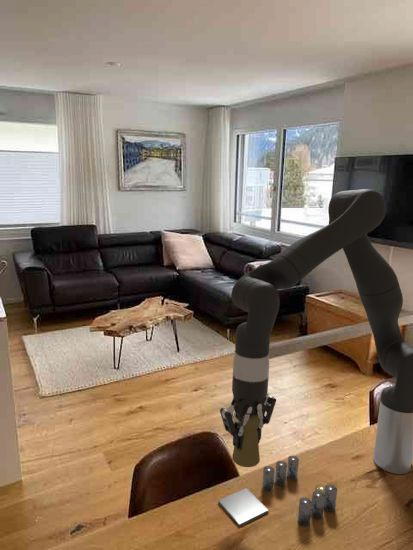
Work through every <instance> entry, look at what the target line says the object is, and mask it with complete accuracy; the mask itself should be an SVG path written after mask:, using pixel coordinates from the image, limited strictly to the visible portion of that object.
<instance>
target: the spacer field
mask: <svg viewBox="0 0 413 550" xmlns="http://www.w3.org/2000/svg"><path fill="white" fill-rule="evenodd" d="M299 461H300V459H299V458H298V456H295V455H290V456H288V458H287V462H285V461H284V460H277V461H276V463H275V468H274V467H273V466H270V465H267V466H264V467H263V468H262V469H263V472H262V485H261V486H262V490H263V491H265V492H269V493H270V492H272V491H274V484H276V485H277V486H280V487H283V486H285V485H286V481H287V479H289V480H291V481H296V480H297V479H298V475H299V464H300V463H299ZM286 478H287V479H286ZM325 485H326V486H325V495H324V493H322V492H321V491H315V490H313V492H312V497H311V498H309V497H305V496H304V497H300V498H299V504H298V513H297V522H298V524H299V525H300V526H302V527H308V526H310V524H311V517H312V518H314V519H316V520H321V519H323V517H324V511H326V512H329V513H333V512H335V510H336V504H337V495H338V488H337V487H336V486H335V485H333V484H331V483H330V484H325Z"/></svg>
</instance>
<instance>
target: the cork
mask: <svg viewBox="0 0 413 550" xmlns="http://www.w3.org/2000/svg"><path fill="white" fill-rule="evenodd" d="M237 418H238V419H239V420H240V421H242V418H240V417H239V416H237ZM259 425H260V418H259V417H258V416H257V414H256V415H252V416H249V419H248V422H247V424H246V426H243V429H244V431H243V444H242V450H241V451H239V450H237V449H236V448H235V447H234V446H233V450H232V451H233V452H232V461H233V462H234V464H236V465H238V466H239V467H242V468H253V467H256V466H257V465H259V463H260V462H261V461H260V460H261V458H260V446H259V444H260V443H259V444H258V432H257V428H258V427H259ZM237 426H238V428H239V424H238V423H237Z"/></svg>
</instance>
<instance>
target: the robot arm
mask: <svg viewBox="0 0 413 550" xmlns="http://www.w3.org/2000/svg"><path fill="white" fill-rule="evenodd" d="M327 209H328V218H329V221H330V223H329V224H327V225H326V226H324V227H322V228H320V229H318V230H316V231H314V232H311V233H309V234H308V235H306V236H304V237H301V238H300V239H298V240H297V241H295V242H293V243H291V244H290V245H289V246H288V247H286V248H285V249H284V250H283V251H282V252H280V253H279V254H278V255H276V256H275V257H274V258H273V259H271V261H269V262H267V263H265V264H262V265H260V266H258V267H256V268H254V269H252V270H250V271H249V272H246V273H245V274H244V275H241V277H240V278H239V279H238V280H237V281H236V282H235V284H234V285H233V287H232V289H231V293H230V296H231V301H232V303H233V305H235V307H237V308H238V309H241V311H244V312H246V313H248V315H247V319H246V320H247V321H244V322H242V323H240V324H239V325H237V328H236V330H235V345H234V355H233V360H232V361H233V362H232V363H233V364H232V382H231V384H232V385H231V392H232V401H231V402H230V405H229V406H228V407H227V408H225V407H221V408H220V409H219V413H220V415H221V419H222V423H223V426H224V429H225V431H226V432H228V434H230V435H231V437H232V446H233V448H234V447H235V448H236V449H237V450H239V451H241V450H242V444H243V431H244V429H243V426H246V424H247V422H248V419H249V416H252V415H256V414H257V416H258V417H259V418H260V425H259V427H258V428H257V432H258V444H260V441H261V439H262V429H263V428H264V425H265V424H266V425H268V424H270V421H271V418H272V415H273V412H274V409H275V406H276V403H277V398H276V397H274V396H272V395H271V394H269V393H268V389H269V378H270V377H269V376H270V375H269V374H270V341H271V339H270V338H271V337H270V335H271V333H272V331H273V328H274V325H275V322H276V319H277V317H278V314H279V310H280V304H281V303H280V294H279V292H278V290H287V289H288V290H290V289H291V288H293V287H295V286H296V285H297V284H298V283H299V282H301V281H302V280H303V279H304V278H305V277H307V276H308V275H309V274H310V273H312V271H314V270H315V269H316V268H317V267H318V266H320V265H321V264H322V263H324V262H325V261H326V260H328V259H329V258H330V257H332V256H333V255H335V254H336V253H338V252H339V251H340V250H343V252H344V255H345V257H346V260H347V262H348V266H349V267H350V268H349V269H350V271H351V273H352V276H353V279H354V281H355V285H356V288H357V291H358V295H359V297H360V300H361V303H362V305H363V308H364V312H365V314H366V317H367V320H368V323H369V325H370V330H371V332H372V336H373V340H374V341H373V342H374V345H375V350H376V356H377V359H378V362H379V365H380V368H382V370H383V371H384V372H386V373H387V374H388V375H390V376H392V377H393V378H394V379H396V381H395V385H394V386H388V387H387V386H386V387H384V388H383V389H382V390H381V392H380V393H381V394H380V400H379V408H378V417H377V425H376V433H375V434H376V435H375V439H374V440H375V442H374V448H373V456H372V459H373V462H374V464H375V465H376V466H378V467H379V468H380V469H381V470H383V471H385V472H388V473H392V474H396V475H405V474H408V473H409V472H410V471H411V469H412V468H411V467H412V464H413V345H411V344H409V343H407V342H406V340H405V339H404V337H403V335H402V332H401V330H400V326H399V317H400V315H401V311H402V308H403V305H404V304H403V303H404V298H403V297H404V296H403V292H402V289H401V287H400V286H401V285H400V283H399V278H398V277H397V274H396V272H395V270H394V269H393V267H392V266H391V265H390V263H388V262H387V260H386V259H385V258H384V257H383V256H382V255H381V253H380V252H379V251H378V250H377V249H376V248H375V247H374V246H373V244H372V242H371V240H370V239H369V236H368V233H370V232H372V231H373V230H375V229H376V228H377V227H378V226H380V225H381V223H382V222H383V220H384V219H385V216H386V213H387V203H386V200H385V198H384V196H383V194H382V193H381V192H379V191H377V190H375V189H369V188H362V189H361V188H360V189H353V190H352V189H350V190H349V189H348V190H343V191H339V192H336V193H334V195H332V197H331V198H330V200H329V203H328V207H327ZM237 416H239V417H240V418H242V421H240V420H239V419H238V418H237ZM237 423H238V424H239V428H238V426H237Z"/></svg>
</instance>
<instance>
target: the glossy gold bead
mask: <svg viewBox="0 0 413 550" xmlns="http://www.w3.org/2000/svg"><path fill="white" fill-rule="evenodd" d="M326 485H327V484H324V483H317V484H316V485H315V490H314V491H321V492H322V493H324V495H325V486H326Z"/></svg>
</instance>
